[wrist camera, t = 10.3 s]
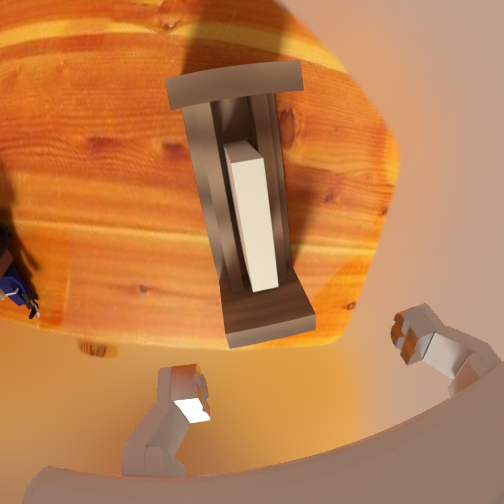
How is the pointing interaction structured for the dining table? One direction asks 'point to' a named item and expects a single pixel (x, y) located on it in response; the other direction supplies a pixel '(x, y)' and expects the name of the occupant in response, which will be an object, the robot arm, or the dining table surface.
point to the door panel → (252, 213)
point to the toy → (13, 278)
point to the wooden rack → (220, 197)
